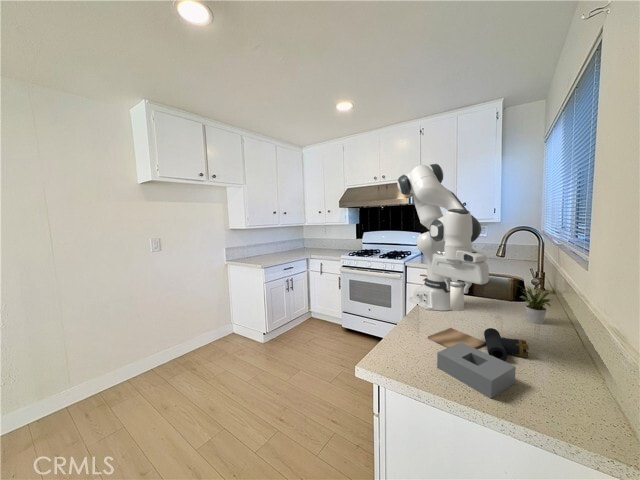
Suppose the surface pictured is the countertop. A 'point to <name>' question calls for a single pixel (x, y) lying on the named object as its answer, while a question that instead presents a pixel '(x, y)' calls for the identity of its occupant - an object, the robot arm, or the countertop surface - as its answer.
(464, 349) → the socket block
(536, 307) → the house plant
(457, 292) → the plug
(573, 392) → the countertop surface
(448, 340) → the pad
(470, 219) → the robot arm
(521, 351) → the pipe connector
